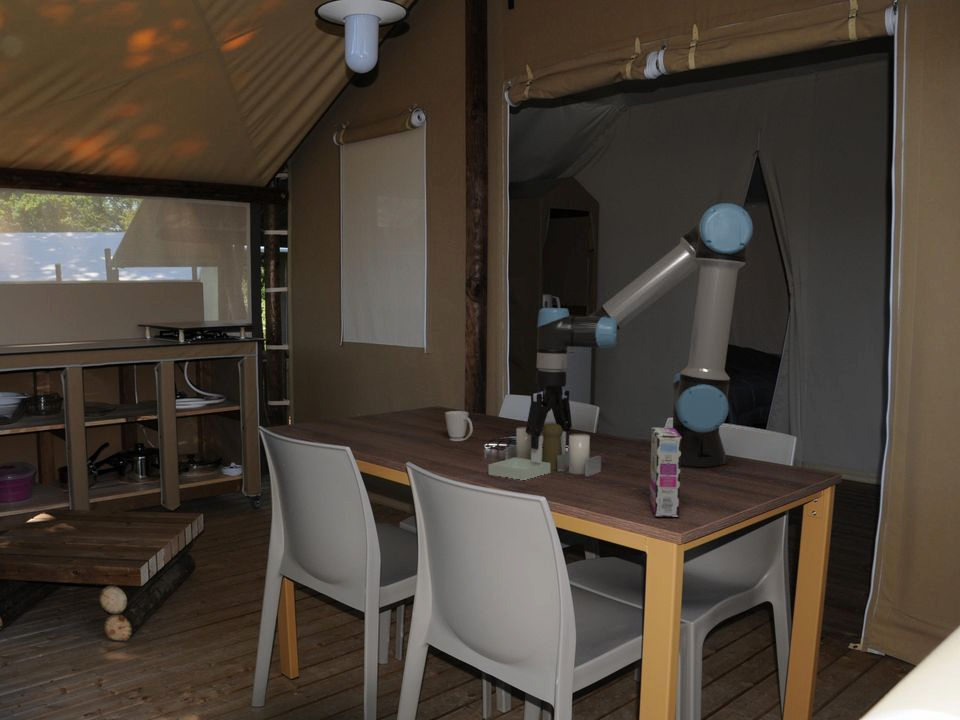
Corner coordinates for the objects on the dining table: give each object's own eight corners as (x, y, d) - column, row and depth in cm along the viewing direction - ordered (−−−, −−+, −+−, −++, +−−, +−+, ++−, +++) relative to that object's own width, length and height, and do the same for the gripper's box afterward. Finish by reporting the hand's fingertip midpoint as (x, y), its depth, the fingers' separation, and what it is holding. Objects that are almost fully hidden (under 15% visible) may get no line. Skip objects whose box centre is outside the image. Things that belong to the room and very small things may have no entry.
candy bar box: (680, 519, 167) (682, 436, 165) (654, 518, 167) (656, 436, 166) (673, 504, 178) (674, 426, 176) (649, 503, 178) (650, 426, 177)
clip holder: (600, 472, 208) (601, 455, 208) (587, 476, 204) (588, 459, 203) (519, 459, 224) (519, 444, 223) (505, 462, 219) (505, 447, 219)
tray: (550, 473, 207) (550, 462, 207) (524, 480, 199) (524, 470, 199) (515, 467, 214) (515, 457, 214) (488, 474, 206) (488, 464, 205)
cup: (458, 436, 257) (457, 410, 256) (480, 441, 250) (480, 413, 249) (440, 439, 252) (440, 412, 251) (462, 444, 245) (462, 416, 244)
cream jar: (593, 471, 209) (593, 435, 208) (582, 475, 205) (582, 438, 204) (575, 468, 212) (576, 433, 211) (564, 472, 208) (565, 435, 207)
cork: (548, 470, 210) (548, 426, 209) (535, 466, 215) (535, 423, 214) (568, 468, 212) (569, 424, 211) (555, 463, 218) (555, 421, 217)
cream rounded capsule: (539, 462, 219) (539, 428, 218) (528, 466, 215) (528, 431, 214) (523, 460, 222) (524, 426, 221) (512, 463, 218) (512, 428, 217)
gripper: (563, 367, 222) (560, 452, 224) (512, 370, 205) (509, 462, 206) (588, 369, 217) (584, 455, 219) (538, 373, 200) (535, 467, 201)
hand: (548, 459), depth 212 cm, fingers open, 10 cm apart
